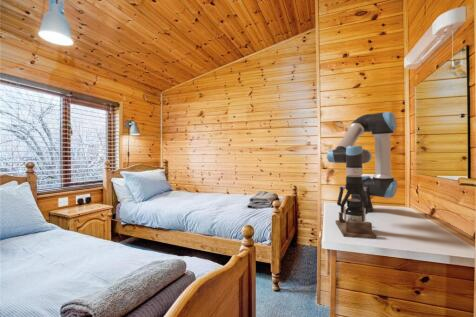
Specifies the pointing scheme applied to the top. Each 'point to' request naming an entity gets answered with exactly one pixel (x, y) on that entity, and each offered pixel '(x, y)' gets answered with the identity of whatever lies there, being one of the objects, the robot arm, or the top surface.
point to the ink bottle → (354, 210)
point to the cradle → (355, 228)
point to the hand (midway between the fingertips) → (353, 219)
